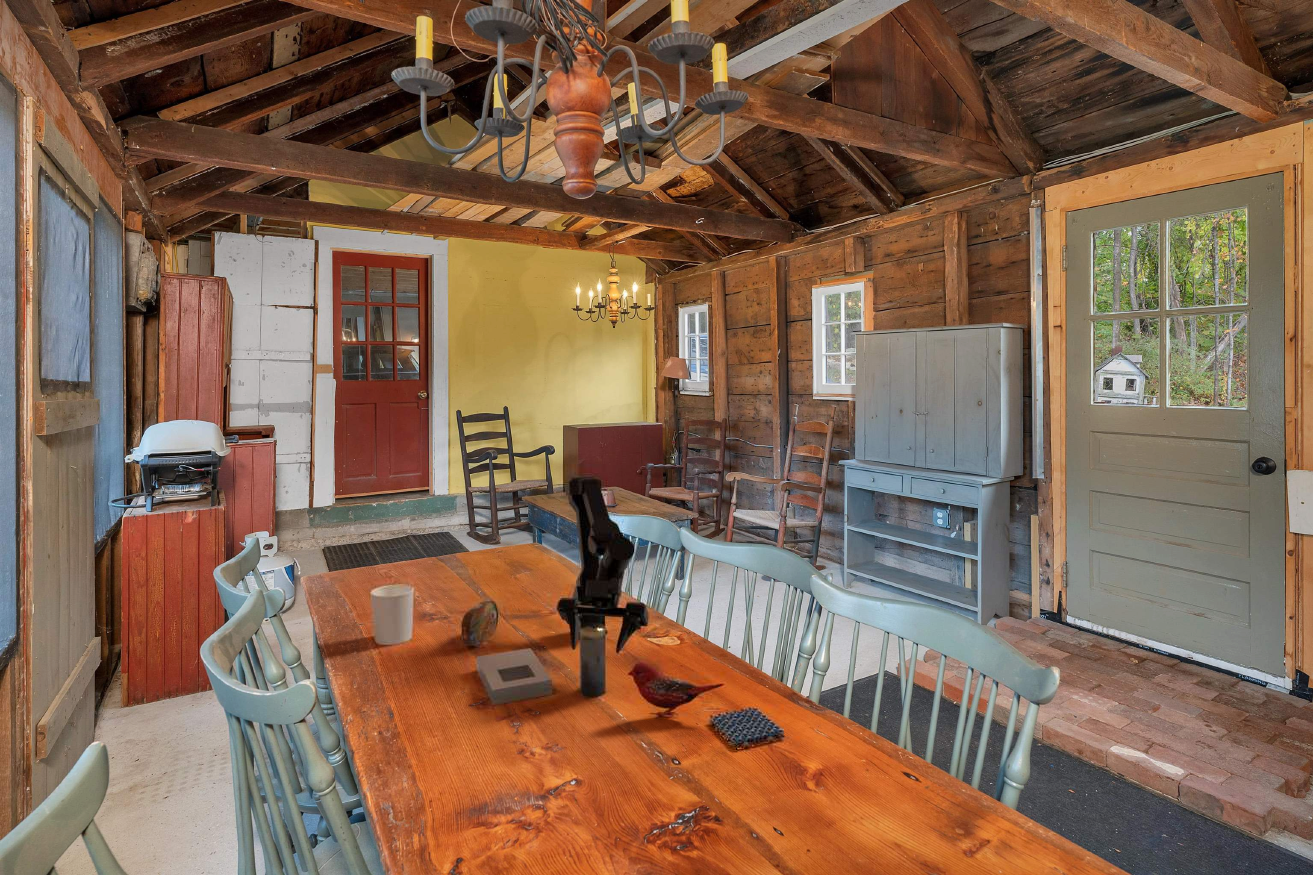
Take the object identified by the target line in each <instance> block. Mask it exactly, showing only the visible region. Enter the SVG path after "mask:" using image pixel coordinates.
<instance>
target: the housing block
mask: <svg viewBox="0 0 1313 875" xmlns="http://www.w3.org/2000/svg"><path fill="white" fill-rule="evenodd" d="M476 672H477V674H478V676H479V679H480V681H481V683H482V686H483V688H484V690H485V692H486V694H487V697H488V698H489V700H490V703H491V706H496V705H497V706H498V705H501V704H503V705H504V704H508V703H514V702H518V701H525V700H529V699H533V698H539V697H540V698H541V697H545V696H549V695H551V696H552V695H553V694H554V692H553V678H552V677H551V675H550V673H549V672H548V671H547V670H546V668H545V666H544V665H543V664H542V663H541V661H540V659H539V658H538V656H537V655H536V653H535V652H534V650H532V648H531V647H530V648H524V649H518V650H511V651H505V652H499V653H493V654H487V655H486V654H485V655H480V656H479V655H478V656H476Z"/></svg>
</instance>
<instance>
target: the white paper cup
mask: <svg viewBox="0 0 1313 875" xmlns="http://www.w3.org/2000/svg"><path fill="white" fill-rule="evenodd" d="M414 591H415V588H414V587H413V586H412V585H409V584H389V585H384V586H379V587H376V588H374V589H371V591H370V592H369V594H370V604H371V615H372V624H373V635H374V642H375V643H376V644H378V645H381V646H394V645H400V644H403V642H404V643H406V642H409V641H410V640H411V639H412V637H413V621H414V620H413V619H414V593H415V592H414Z"/></svg>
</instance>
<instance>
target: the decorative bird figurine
mask: <svg viewBox="0 0 1313 875" xmlns="http://www.w3.org/2000/svg"><path fill="white" fill-rule="evenodd" d="M627 675H628V676H632V677H633V682H634V683H635V685H636V688H637V689H638V693H639V694H640V695H641V697H642V698H643V699H644V700H645V701H646V702H647V703H649V704H650V705H653V706H655V707H657V708H661V709H665V711H658V712H650V713H649V715H656V716H659V717H664V716H669V717H670V716H671V717H673V716H674V715H676V716H678V715H679V714H678V713H676V712H674V710H676V708H677V709H678V707H681V706H683V705H685V704H689V703H691V702H693V700H695V699H696V698H697V697H698V696H699V695H702V694H703V693H705V692H709V691H712V690H714V689H717V688H721V687H723V686H724V685H725V683H716V684H707V685H701V686H700V685H699V686H696V685H694V684H692V683H690V682H688V681H686V680H682V679H680V678H677V677H673V676H669V675H665V674H663V673H661V672H659V671H658V670H656V669H655V668H654V667H653V666H651V665H650V664H647V663H644V662H637V663H636V664H635V665H634V666H633V667H632V670H630V671H629V672H627ZM666 709H667V710H666Z"/></svg>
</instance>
